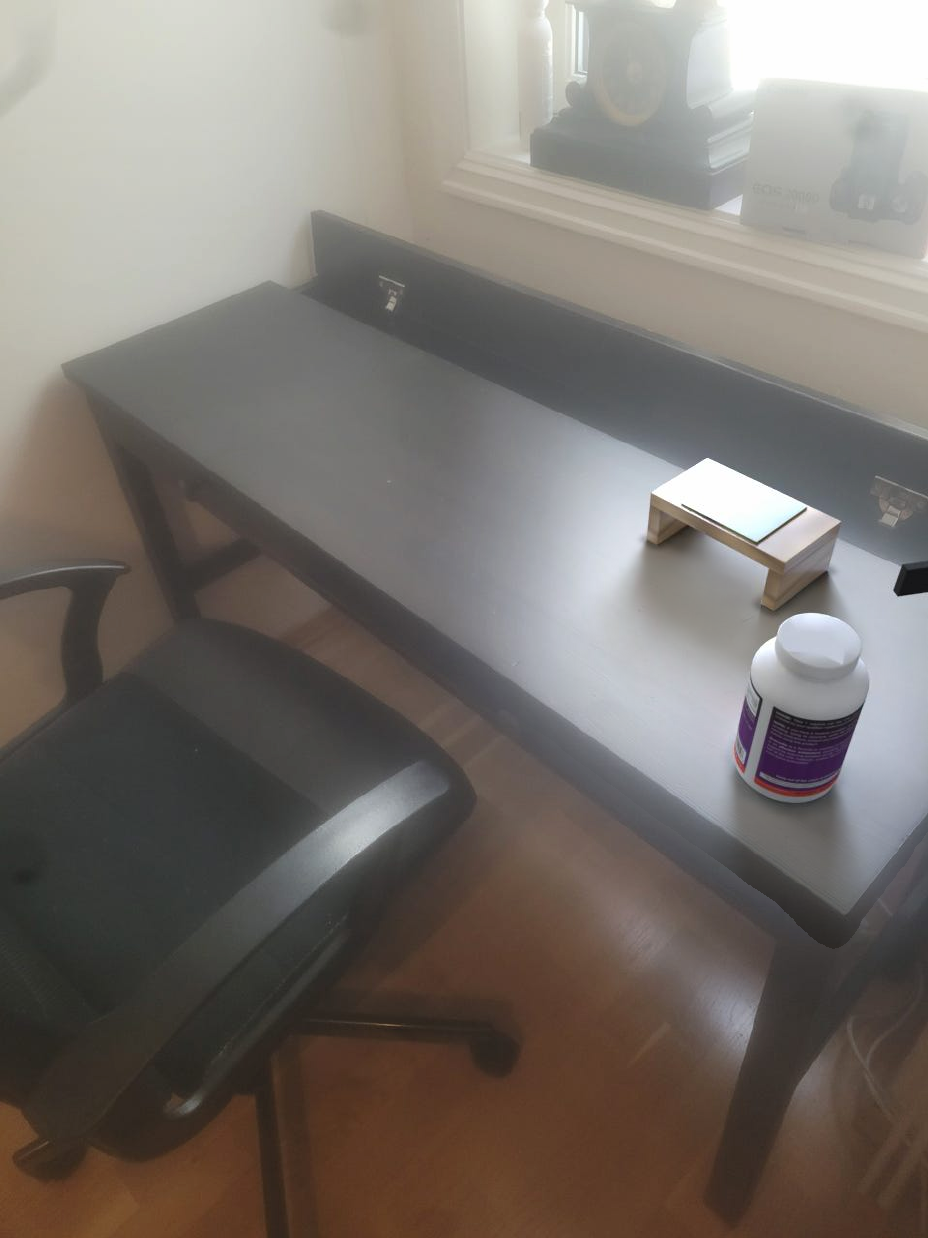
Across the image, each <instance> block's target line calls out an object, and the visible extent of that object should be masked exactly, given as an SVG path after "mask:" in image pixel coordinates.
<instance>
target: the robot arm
mask: <svg viewBox="0 0 928 1238" xmlns="http://www.w3.org/2000/svg"><path fill="white" fill-rule="evenodd" d="M892 591H893V593H894V594H895V595H896V597H897V598H900V597H907V596H912V595H913V596H914V595H919V594H927V593H928V560H922V561H913V562H909V563H901V567H900V569H899V573H898V575H897V579H896V580H895V584H894V586H893V590H892Z"/></svg>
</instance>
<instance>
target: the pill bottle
mask: <svg viewBox="0 0 928 1238" xmlns="http://www.w3.org/2000/svg"><path fill="white" fill-rule="evenodd" d="M861 653H862V641H861V639H860V636H859V635H858V633H857V631H855V629H854V628H852V627H851V626H850V625H849V624H848V623H846V622H845V621H843V620H841V619H839V618H837V617H834V616H832V615H828V614H824V613H823V614H822V613H818V612H817V613H816V612H807V613H805V612H804V613H800V614H799V613H798V614H795V615H792V616H790V617H789V618H787V619H785V620H784V621H783V622H782V623H781V624H780V625H779V628H778V630H777V633H776V636H774V637H772V638H770V639H769V640H767V641H765V643H764V644H763V645H761V646H760V648H759V649H758V650H757V651H756V653H755V655H754V657H753V659H752V662H751V666H750V671H749V677H748V680H747V685H746V690H745V695H744V698H743V704H742V708H741V713H740V716H739V717H740V718H739V722H738V726H737V731H736V734H735V735H736V736H735V741H734V744H733V752H732V753H733V754H732V755H733V761H734V765H735V768H736V770H737V772H738V773H739V775H740V776H741V777H740V778H742V779H743V780H744V782H745V783H746V784H747V785H748V786H749V787H751V788H752V789H753V790H754V791H756V792H757V793H759V794H760V795H763V796H765V797H767V798H769V799H772V800H774V801H778V802H783V803H788V804H789V803H790V804H802V803H807V802H812V801H815V800H817V799H819V798H821V797H823V796H824V795H826V794H827V793H828V792H829V791H830V790H831V789H832V788H833V787H834V785H835V784H836V783H837V781H838V778H839V776H840V773H841V771H842V767H843V764H844V762H845V759H846V756H847V754H848V750H849V748H850V744H851V742H852V740H853V736H854V733H855V730H856V727H857V725H858V723H859V719H860V716H861V714H862V711H863V709H864V708H863V707H864V705H865V703H866V700H867V697H868V695H869V694H868V693H869V692H870V691H869V690H870V676H869V672H868V669H867V667H866V665H865V663H864V661H863V660H862V658H861V657H860V656H861Z"/></svg>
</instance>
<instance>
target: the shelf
mask: <svg viewBox="0 0 928 1238" xmlns="http://www.w3.org/2000/svg"><path fill="white" fill-rule="evenodd" d="M841 525H842V520H840V519H838V518H835V517H833V516H831V515H829V514H827V513H825V512H822V511H821V510H819V509H816V508H814V507H812V506H810V505H808V504H806V503H803V502H801V501H800V500H797V499H796V498H793V497H790V496H789V495H786V494H785V493H782V492H781V491H778V490H776V489H773V488H772V487H770V486H767V485H765V484H763V483H762V482H759V481H757V480H754V479H753V478H750V477H748V476H746V475H744V474H742V473H740V472H739V471H736V470H734V469H732V468H729V467H727V466H725V465H723V464H721V463H719V462H717V461H714V460H713V459H711V458H708V457H707V458H705V459H703V460H702V461H700V462H698V463H697V464H695V465H694V466H692V467H690V468H689V469H687V470H686V471H685V470H684V471H683V472H682V473H680V474H678V475H677V476H675V477H674V478H672V479H671V480H670V481H667V482H665V483H664V484H662V485H661V486H659V487H658V488H656V489H654V490H653V491H651V492H650V498H649V509H648V520H647V530H646V540H648V541H649V542H651V543H653V544H655V545H659V544H660V543H662V542H664V541H665V540H667V539H668V538H670V537H671V536H673V535H674V534H677V532H679V531H680V530H682V529H684V528H685V527H687V526H689V527H691V528H693V529H695V530H696V531H698V532H700V533H703V534H704V535H706V536H708V537H710V538H711V539H713V540H715V541H717V542H719V543H721V544H723V545H725V546H727V547H728V548H730V549H732V550H734V551H735V552H738V553H739V554H741V555H743V556H745V557H747V558H749V559H750V560H753V561H754V562H756V563H758V564H760V565H762V566H764V567H765V568H768V571H767V575H766V579H765V584H764V589H763V593H762V597H761V601H760V605H761V606H763V607H766V608H767V609H769V610H770V611H772V612H775V611H776V610H778V609H779V608H780V607H781V606H782V605H784V604H785V603H787V602H788V601H790V599H792V598H793V597H795V596H796V595H797V594H798V593H799V592H801V591H802V590H803V589H805V588H806V587H807V586H808V585H810V584H812V582H814V581H815V580H816V579H818V578H819V577H820V576H822V575H823V574H824V573H826V572H827V571H828V570H829V568H830V564H831V561H832V556H833V555H834V554H833V553H834V550H835V546H836V543H837V539H838V536H839V533H840V529H841Z"/></svg>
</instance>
